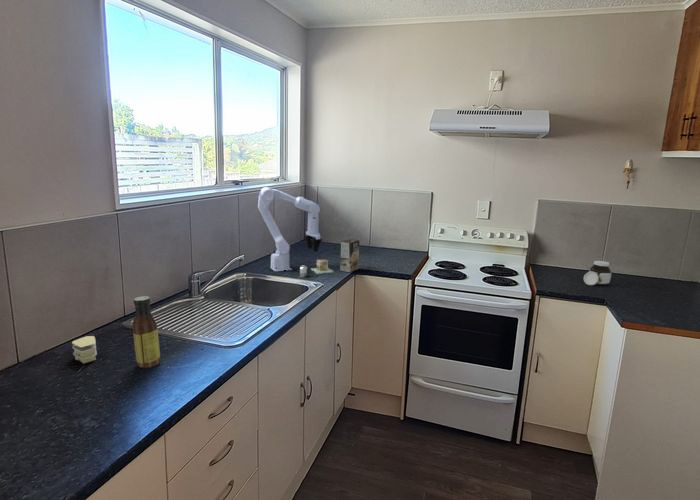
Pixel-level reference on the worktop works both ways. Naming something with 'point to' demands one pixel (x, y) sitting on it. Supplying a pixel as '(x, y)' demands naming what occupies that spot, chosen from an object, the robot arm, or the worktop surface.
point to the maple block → (322, 265)
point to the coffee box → (349, 255)
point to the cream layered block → (85, 349)
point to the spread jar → (598, 274)
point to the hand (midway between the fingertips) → (312, 250)
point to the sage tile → (322, 271)
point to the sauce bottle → (145, 334)
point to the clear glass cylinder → (303, 271)
